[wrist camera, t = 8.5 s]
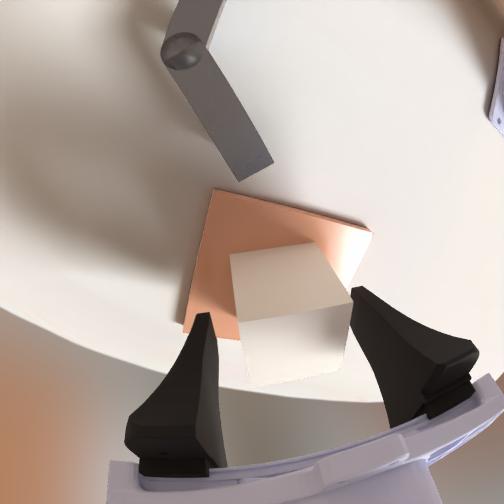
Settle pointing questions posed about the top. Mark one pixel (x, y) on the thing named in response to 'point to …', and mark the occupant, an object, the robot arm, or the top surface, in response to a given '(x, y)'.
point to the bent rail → (211, 86)
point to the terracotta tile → (257, 238)
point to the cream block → (289, 313)
